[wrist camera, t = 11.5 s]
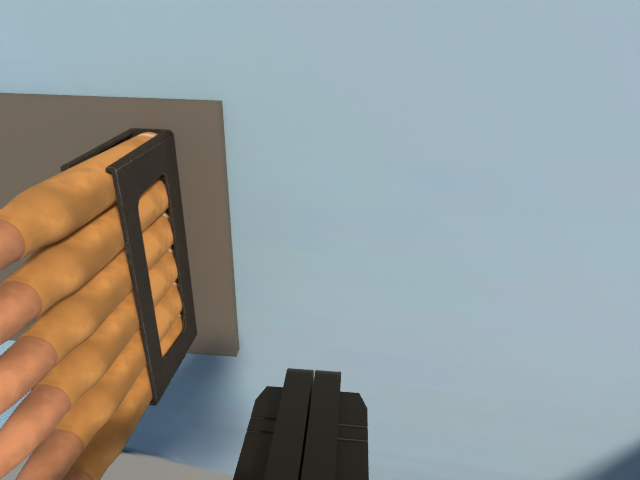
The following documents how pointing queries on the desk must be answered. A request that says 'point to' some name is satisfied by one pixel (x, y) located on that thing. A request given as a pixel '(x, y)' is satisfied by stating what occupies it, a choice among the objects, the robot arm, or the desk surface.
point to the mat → (194, 175)
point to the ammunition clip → (92, 305)
